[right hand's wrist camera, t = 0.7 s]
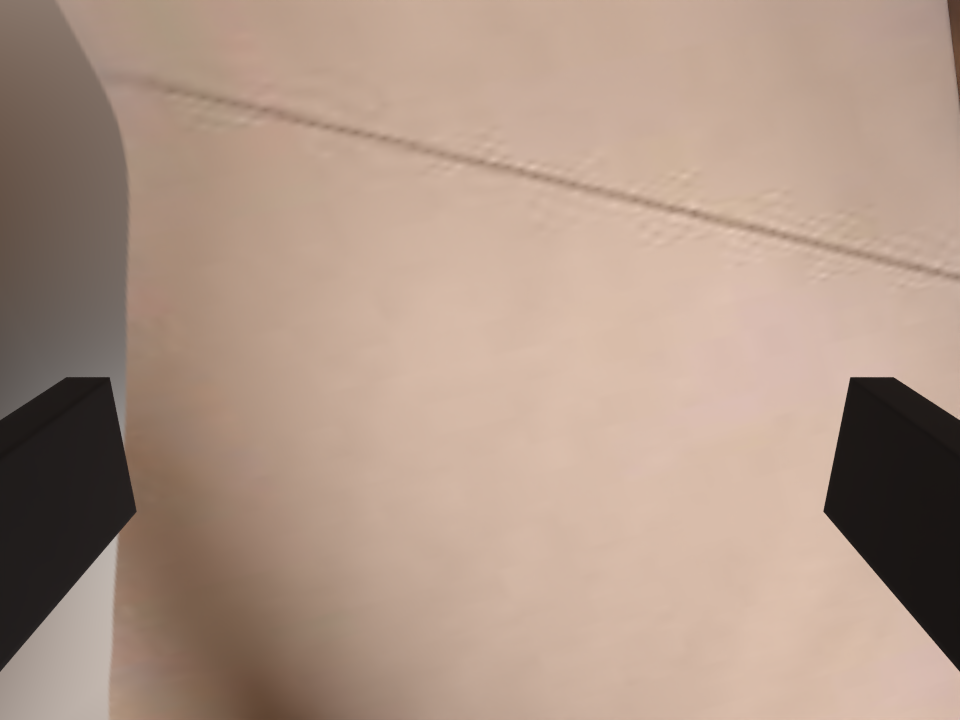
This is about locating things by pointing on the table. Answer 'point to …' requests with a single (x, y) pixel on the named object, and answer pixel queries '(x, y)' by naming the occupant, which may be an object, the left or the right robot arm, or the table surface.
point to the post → (955, 34)
